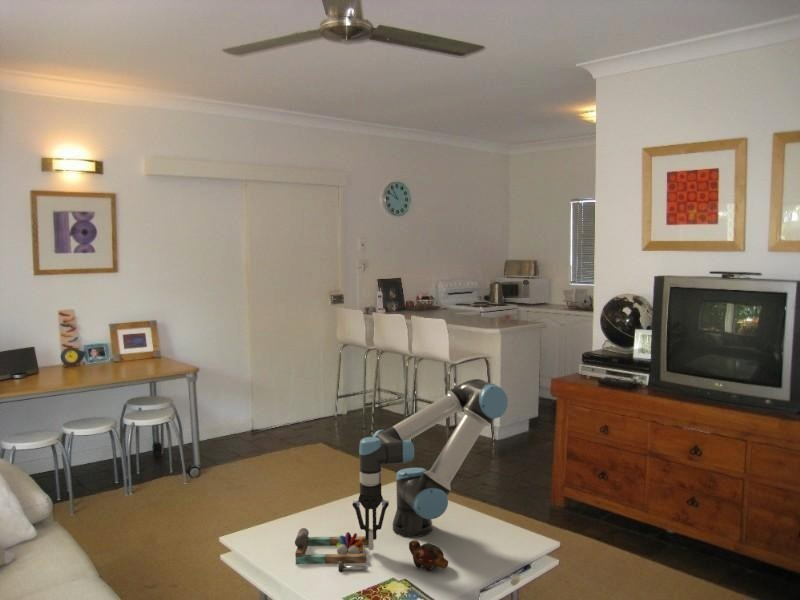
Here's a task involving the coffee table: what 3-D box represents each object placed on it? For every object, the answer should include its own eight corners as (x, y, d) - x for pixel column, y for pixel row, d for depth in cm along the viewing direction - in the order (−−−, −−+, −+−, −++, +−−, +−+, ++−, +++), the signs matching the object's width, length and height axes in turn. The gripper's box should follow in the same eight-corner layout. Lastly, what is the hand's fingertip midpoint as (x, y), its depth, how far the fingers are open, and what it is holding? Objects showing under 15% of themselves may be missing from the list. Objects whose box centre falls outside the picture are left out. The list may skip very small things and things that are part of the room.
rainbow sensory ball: (360, 559, 231) (359, 538, 230) (333, 557, 233) (333, 536, 232) (366, 548, 239) (366, 528, 238) (340, 546, 241) (340, 526, 240)
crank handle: (367, 569, 223) (367, 560, 223) (367, 571, 221) (367, 563, 221) (338, 569, 223) (338, 560, 223) (338, 572, 221) (338, 563, 221)
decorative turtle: (414, 556, 232) (415, 534, 231) (453, 569, 224) (455, 546, 224) (400, 566, 224) (401, 543, 223) (440, 580, 216) (442, 556, 216)
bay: (368, 543, 243) (368, 522, 243) (366, 563, 227) (365, 541, 227) (300, 543, 243) (300, 523, 243) (293, 564, 227) (292, 542, 227)
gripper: (389, 478, 237) (389, 543, 239) (352, 478, 237) (353, 543, 239) (389, 486, 230) (389, 552, 231) (351, 486, 230) (351, 553, 231)
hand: (371, 548), depth 235 cm, fingers closed
